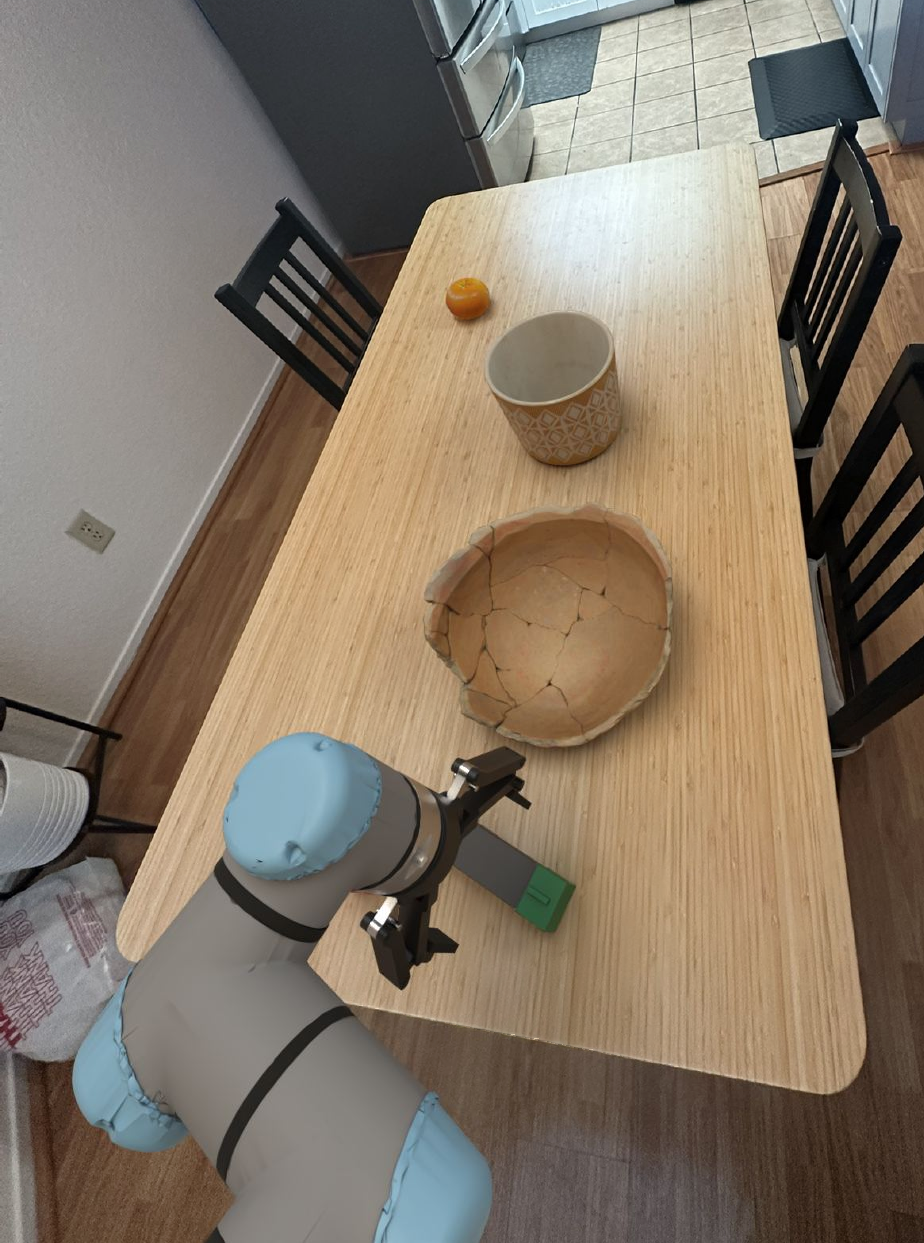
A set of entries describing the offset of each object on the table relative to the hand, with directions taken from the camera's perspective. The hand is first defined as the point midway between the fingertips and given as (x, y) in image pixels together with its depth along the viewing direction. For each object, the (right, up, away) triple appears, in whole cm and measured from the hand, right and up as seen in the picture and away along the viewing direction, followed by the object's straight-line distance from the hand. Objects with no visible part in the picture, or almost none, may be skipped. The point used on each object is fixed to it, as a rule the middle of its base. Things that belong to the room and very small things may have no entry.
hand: (484, 867), depth 64 cm
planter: (+9, +47, +42) cm, 64 cm away
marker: (+2, -4, +6) cm, 8 cm away
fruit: (-11, +72, +65) cm, 98 cm away
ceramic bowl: (+8, +18, +21) cm, 28 cm away
